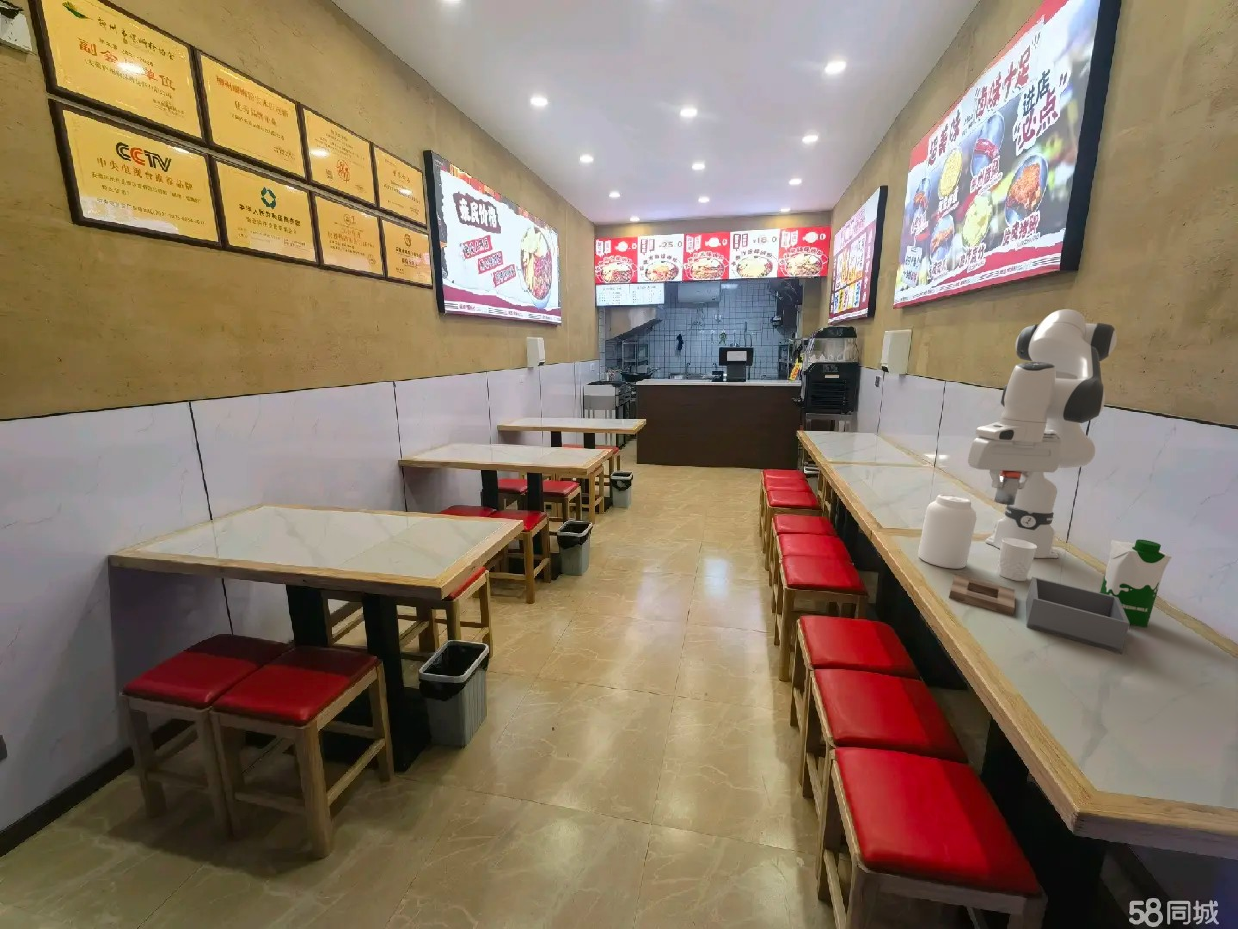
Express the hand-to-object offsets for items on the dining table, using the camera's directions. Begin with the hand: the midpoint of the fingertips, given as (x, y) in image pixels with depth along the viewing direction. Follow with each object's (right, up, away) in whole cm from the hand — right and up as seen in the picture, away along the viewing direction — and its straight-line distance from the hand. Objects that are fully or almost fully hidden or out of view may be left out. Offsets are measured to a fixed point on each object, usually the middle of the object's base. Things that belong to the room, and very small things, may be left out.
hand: (1007, 488), depth 124 cm
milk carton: (+27, -31, 0) cm, 42 cm away
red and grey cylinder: (0, -4, +1) cm, 4 cm away
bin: (+10, -32, -6) cm, 34 cm away
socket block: (-2, -28, +7) cm, 29 cm away
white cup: (+17, -26, +21) cm, 38 cm away
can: (+2, -23, +29) cm, 38 cm away
